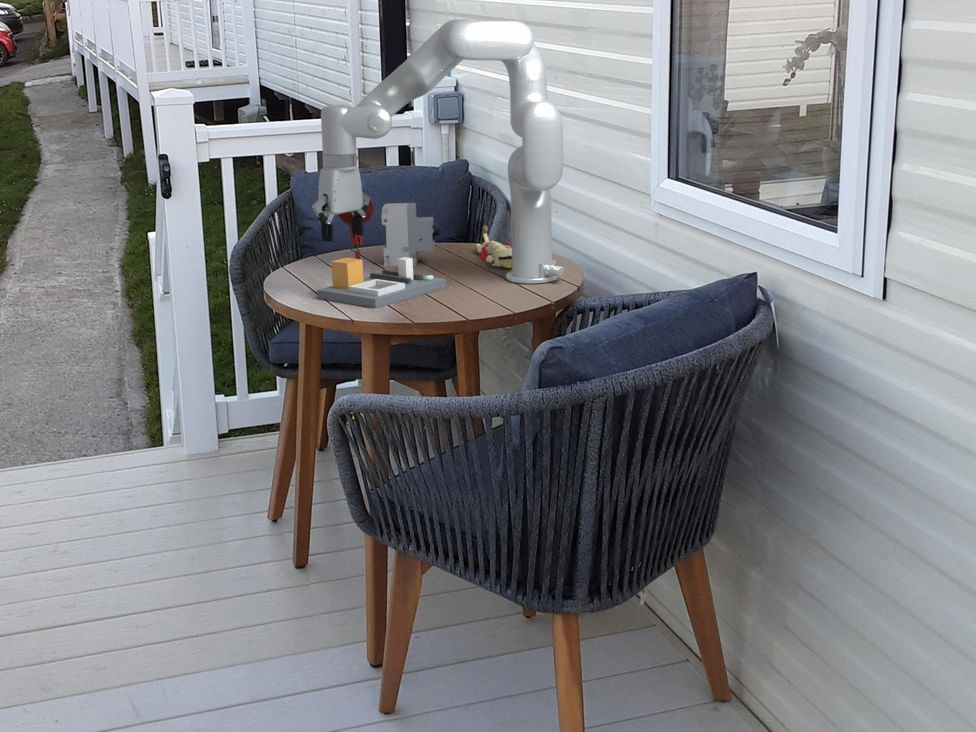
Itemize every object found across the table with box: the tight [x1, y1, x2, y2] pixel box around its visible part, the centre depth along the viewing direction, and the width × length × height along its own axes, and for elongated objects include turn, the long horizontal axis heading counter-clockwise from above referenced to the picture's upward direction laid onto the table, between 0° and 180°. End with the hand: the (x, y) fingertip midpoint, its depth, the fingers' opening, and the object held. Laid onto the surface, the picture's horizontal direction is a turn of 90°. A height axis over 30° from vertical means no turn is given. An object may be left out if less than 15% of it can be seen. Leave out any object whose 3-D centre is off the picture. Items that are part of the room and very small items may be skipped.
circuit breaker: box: [381, 202, 441, 267], centre depth 301 cm, size 8×14×15 cm, turn 89°
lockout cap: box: [330, 257, 364, 289], centre depth 268 cm, size 5×5×6 cm
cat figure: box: [473, 225, 512, 269], centre depth 301 cm, size 10×9×25 cm
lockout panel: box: [316, 269, 447, 309], centre depth 270 cm, size 18×24×3 cm
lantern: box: [337, 198, 375, 259], centre depth 294 cm, size 10×10×30 cm
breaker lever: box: [397, 257, 414, 280], centre depth 272 cm, size 2×2×5 cm
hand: (343, 237), depth 265 cm, fingers open, 9 cm apart
